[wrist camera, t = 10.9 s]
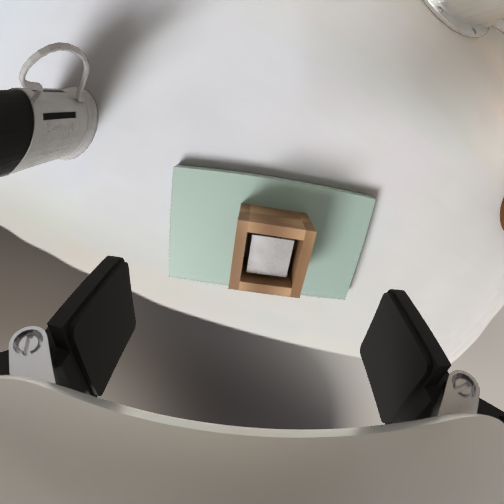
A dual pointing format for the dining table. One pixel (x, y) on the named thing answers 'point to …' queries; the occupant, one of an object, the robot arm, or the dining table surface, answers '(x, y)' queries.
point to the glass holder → (45, 119)
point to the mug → (502, 215)
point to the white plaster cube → (269, 255)
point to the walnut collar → (280, 226)
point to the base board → (224, 230)
